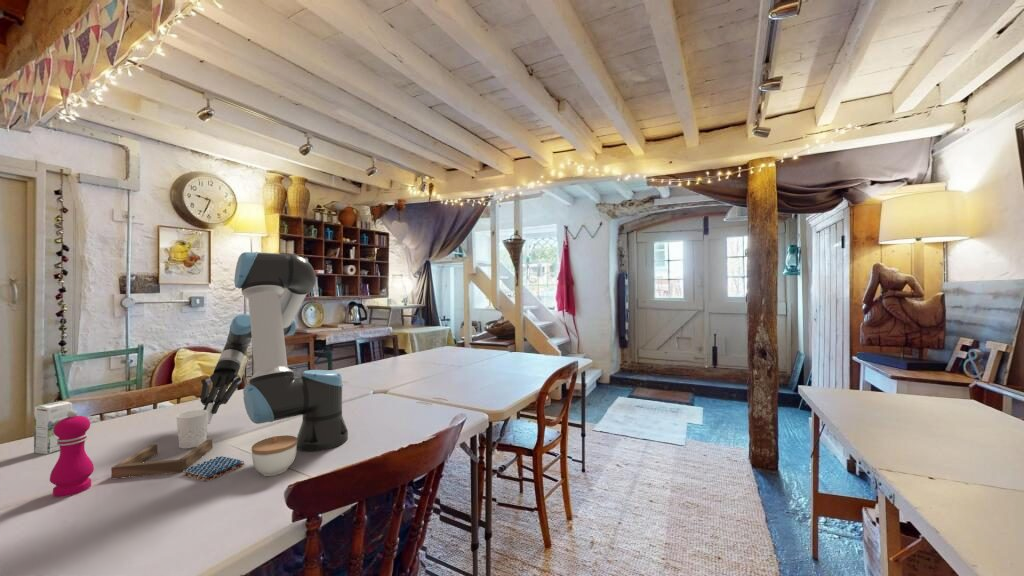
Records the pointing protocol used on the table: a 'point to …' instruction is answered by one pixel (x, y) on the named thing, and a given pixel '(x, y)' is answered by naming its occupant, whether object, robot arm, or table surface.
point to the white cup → (192, 428)
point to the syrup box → (48, 425)
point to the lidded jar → (274, 454)
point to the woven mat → (213, 468)
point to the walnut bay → (158, 462)
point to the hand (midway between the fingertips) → (205, 422)
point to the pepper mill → (71, 456)
